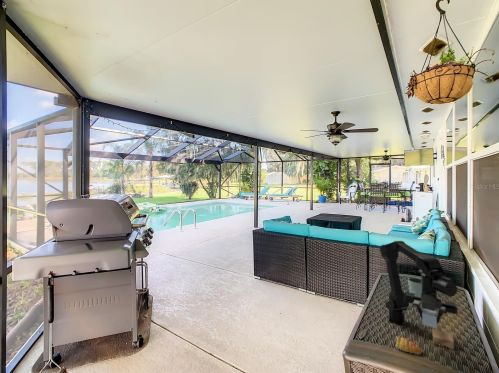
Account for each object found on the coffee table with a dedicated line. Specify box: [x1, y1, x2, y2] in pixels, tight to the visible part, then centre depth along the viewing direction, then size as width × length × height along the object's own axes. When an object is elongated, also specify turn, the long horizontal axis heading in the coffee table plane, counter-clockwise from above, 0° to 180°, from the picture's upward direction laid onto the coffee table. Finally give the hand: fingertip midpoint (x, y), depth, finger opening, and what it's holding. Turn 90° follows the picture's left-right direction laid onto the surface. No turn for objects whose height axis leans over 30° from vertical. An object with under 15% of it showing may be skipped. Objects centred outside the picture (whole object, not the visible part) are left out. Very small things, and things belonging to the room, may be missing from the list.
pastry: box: [395, 336, 423, 355], centre depth 106 cm, size 9×7×4 cm
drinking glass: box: [407, 277, 422, 297], centre depth 151 cm, size 10×10×12 cm
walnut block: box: [431, 328, 455, 350], centre depth 111 cm, size 7×7×4 cm
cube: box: [421, 308, 438, 329], centre depth 108 cm, size 5×5×5 cm
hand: (429, 321), depth 108 cm, fingers closed on cube, 5 cm apart
